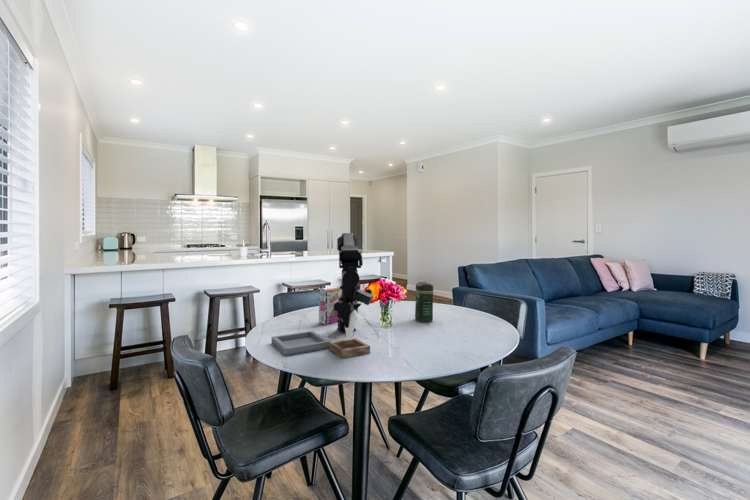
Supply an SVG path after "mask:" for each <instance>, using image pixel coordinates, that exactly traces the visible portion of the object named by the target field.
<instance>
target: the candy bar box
mask: <svg viewBox="0 0 750 500" xmlns="http://www.w3.org/2000/svg"><path fill="white" fill-rule="evenodd" d="M318 294H319V295H318V296H319V298H318V299H319V302H318V305H319V306H318V324H321V325H324V326H327V325H330V324H333V323H338V320H339V317H337V311H334V310H333V305H334V304H335V303H336V302H338V301H339V298H340V296H341V294H342V289H340V286H330V287H322V288H319V293H318ZM338 314H339V313H338Z"/></svg>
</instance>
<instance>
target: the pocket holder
mask: <svg viewBox="0 0 750 500" xmlns="http://www.w3.org/2000/svg"><path fill="white" fill-rule="evenodd" d="M328 349H329V350H330V351H331V352H332V353H334V354H336V355H337V356H339V357H340V358H341V359H345V358H349V357H350V358H351V357H355V356H360V355H366V354H370V353H371V346H370V345H369V344H367V343H365V342H363V341H361V340H360V339H357V338H356V337H355V338H348V339H343V340H337V341H330V343H329V348H328Z"/></svg>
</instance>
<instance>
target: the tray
mask: <svg viewBox="0 0 750 500" xmlns="http://www.w3.org/2000/svg"><path fill="white" fill-rule="evenodd" d="M330 342H331V341H330V340H328V338H325V337H323V336H322V335H320V333H317V332H316V331H314V330H308V331H301V332H295V333H287V334H282V335H281V334H279V335H274V336H271V344H272V345H273V346H274V347H275V348H277V350H278V351H280V352H281V353H282V354H283V355H285V356H286V357H289V356H294V355H300V354H305V353H310V352H316V351H322V350H327V349H329V343H330Z"/></svg>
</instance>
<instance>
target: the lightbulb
mask: <svg viewBox="0 0 750 500" xmlns="http://www.w3.org/2000/svg"><path fill="white" fill-rule="evenodd" d="M358 318H359V315H358V314H357V312H356V310H354V311H353V312H352V313H351V316H350V322H349V327H348V328H346V327H345V331H346V332H345V337H347V338H348V339H352V337H353V336H354V332H355V331H354V329H355V325H356V322H357V321H358ZM344 326H345V325H344Z"/></svg>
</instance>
